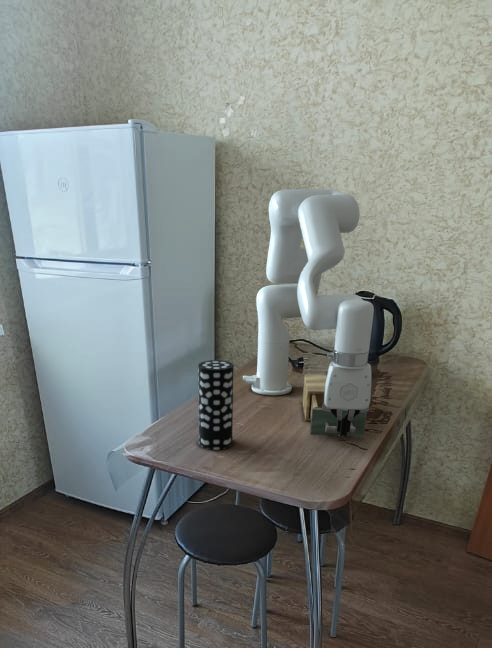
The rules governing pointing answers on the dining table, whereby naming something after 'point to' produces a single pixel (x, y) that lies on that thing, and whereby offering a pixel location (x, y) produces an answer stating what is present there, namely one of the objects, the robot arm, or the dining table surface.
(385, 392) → the dining table surface
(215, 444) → the white-spotted black cylinder
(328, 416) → the drawer
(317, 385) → the cabinet
